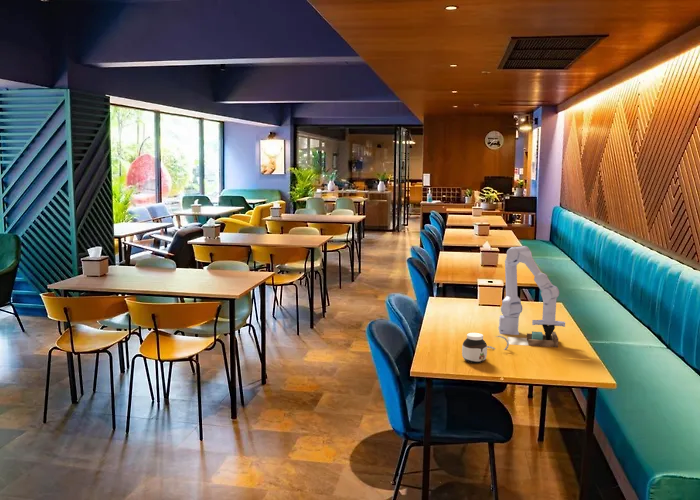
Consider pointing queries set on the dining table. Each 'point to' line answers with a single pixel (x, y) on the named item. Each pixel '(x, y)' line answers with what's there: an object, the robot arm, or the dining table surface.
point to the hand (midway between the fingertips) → (547, 340)
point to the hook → (503, 338)
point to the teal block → (537, 335)
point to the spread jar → (474, 348)
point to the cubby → (535, 341)
